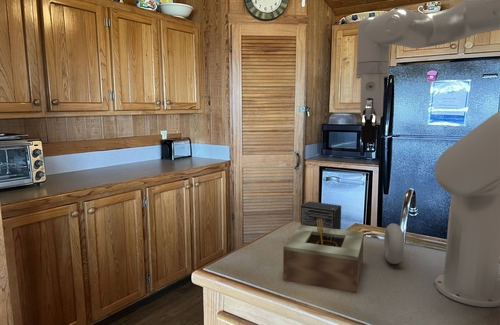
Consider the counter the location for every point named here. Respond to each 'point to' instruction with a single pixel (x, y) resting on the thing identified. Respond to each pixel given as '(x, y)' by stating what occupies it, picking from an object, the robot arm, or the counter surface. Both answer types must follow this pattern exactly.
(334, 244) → the utensil holder
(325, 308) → the counter surface
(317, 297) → the counter surface
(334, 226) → the small box
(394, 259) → the donut
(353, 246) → the drop box
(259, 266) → the counter surface
